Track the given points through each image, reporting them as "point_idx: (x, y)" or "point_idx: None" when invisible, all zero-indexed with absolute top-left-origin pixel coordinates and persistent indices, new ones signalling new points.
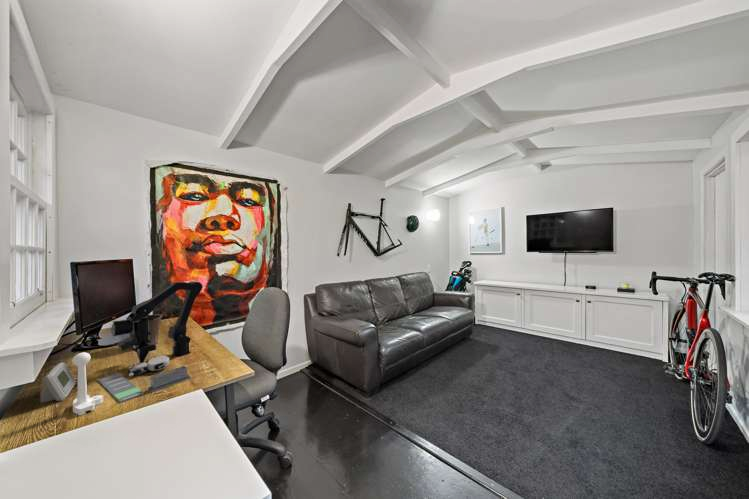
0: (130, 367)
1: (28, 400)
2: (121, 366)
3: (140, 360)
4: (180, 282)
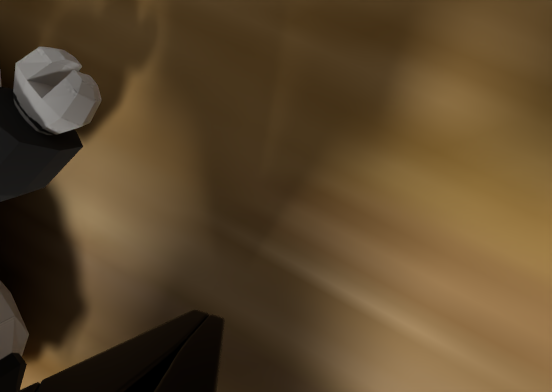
0: (18, 72)
1: None
2: (534, 153)
3: (147, 334)
4: None
